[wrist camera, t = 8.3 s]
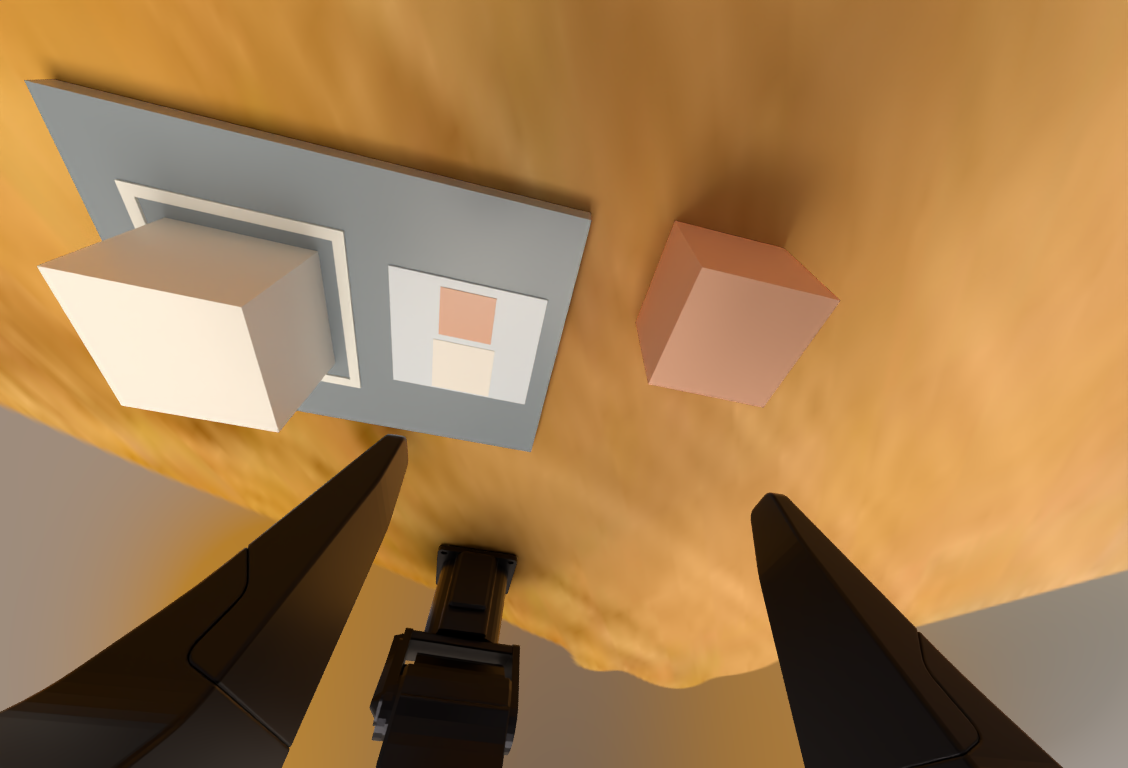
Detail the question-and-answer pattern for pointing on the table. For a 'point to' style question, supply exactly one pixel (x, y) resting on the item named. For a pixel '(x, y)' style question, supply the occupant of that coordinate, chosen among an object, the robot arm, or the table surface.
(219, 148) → the building plate
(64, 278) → the cream block
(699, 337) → the terracotta block
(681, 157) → the table surface
